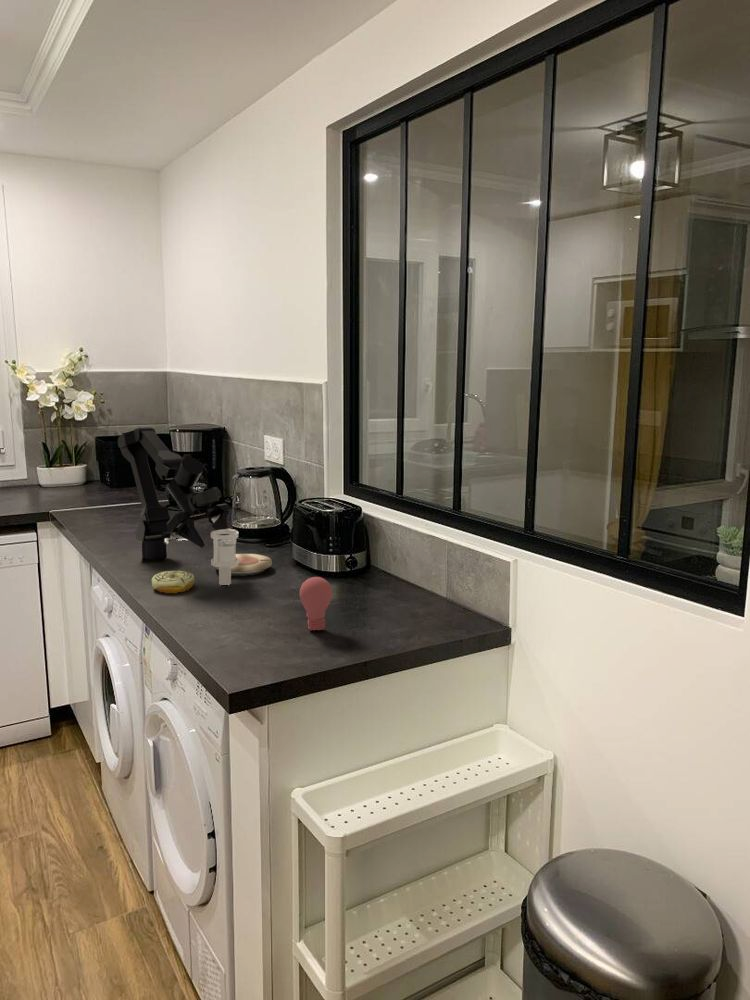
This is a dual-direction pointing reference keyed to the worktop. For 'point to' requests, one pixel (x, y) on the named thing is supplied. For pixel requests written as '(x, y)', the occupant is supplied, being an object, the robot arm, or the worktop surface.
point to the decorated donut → (172, 581)
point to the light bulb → (315, 601)
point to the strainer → (224, 553)
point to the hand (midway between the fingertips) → (216, 543)
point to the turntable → (251, 563)
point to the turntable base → (246, 573)
